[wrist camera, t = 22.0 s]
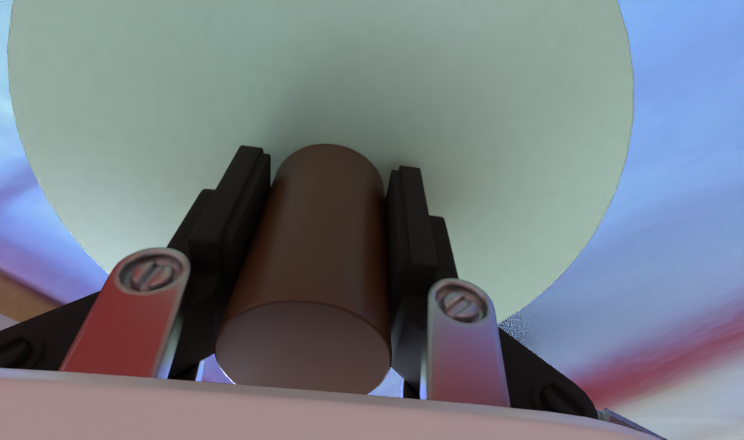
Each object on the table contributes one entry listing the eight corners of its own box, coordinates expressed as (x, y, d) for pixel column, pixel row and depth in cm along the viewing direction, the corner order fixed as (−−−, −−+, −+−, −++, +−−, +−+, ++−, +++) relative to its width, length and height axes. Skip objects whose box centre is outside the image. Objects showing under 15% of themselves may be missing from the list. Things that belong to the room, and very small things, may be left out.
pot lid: (189, 357, 19) (113, 542, 13) (-130, -111, 9) (-936, -150, 3) (572, 319, 17) (666, 511, 12) (692, -292, 7) (1609, -882, 2)
